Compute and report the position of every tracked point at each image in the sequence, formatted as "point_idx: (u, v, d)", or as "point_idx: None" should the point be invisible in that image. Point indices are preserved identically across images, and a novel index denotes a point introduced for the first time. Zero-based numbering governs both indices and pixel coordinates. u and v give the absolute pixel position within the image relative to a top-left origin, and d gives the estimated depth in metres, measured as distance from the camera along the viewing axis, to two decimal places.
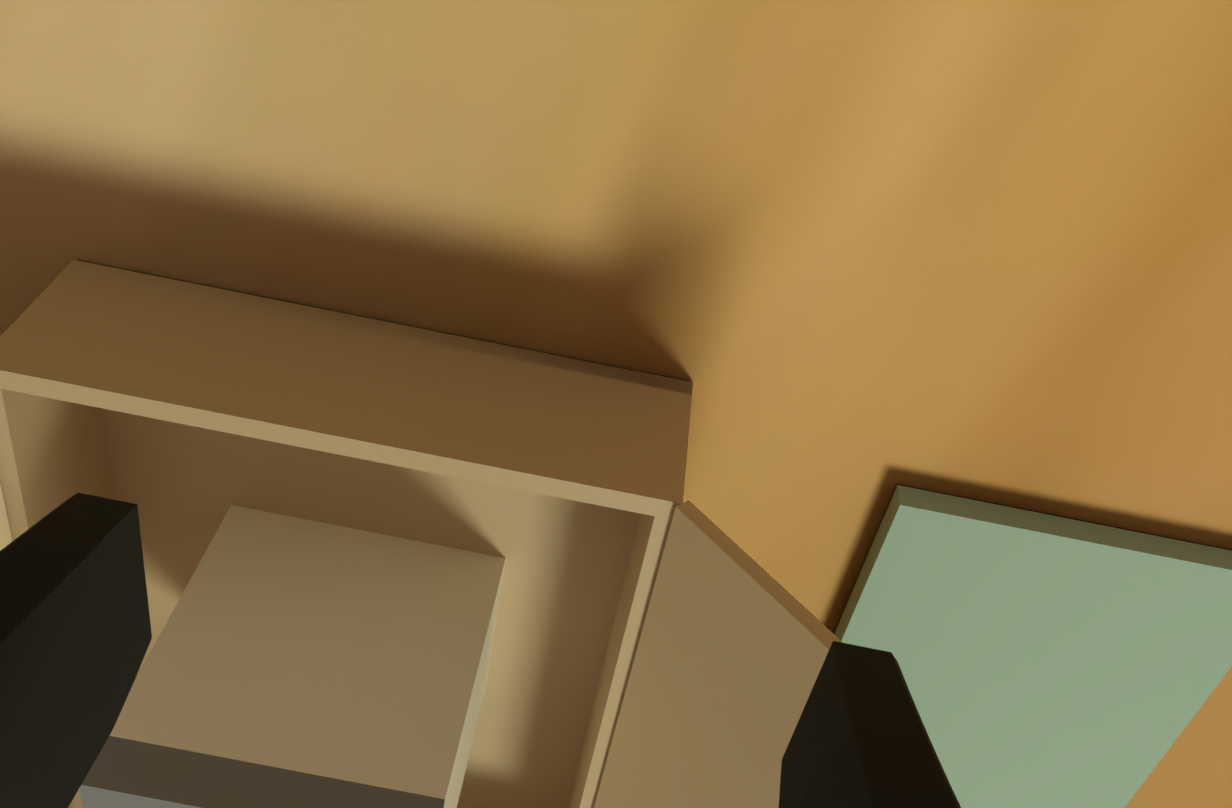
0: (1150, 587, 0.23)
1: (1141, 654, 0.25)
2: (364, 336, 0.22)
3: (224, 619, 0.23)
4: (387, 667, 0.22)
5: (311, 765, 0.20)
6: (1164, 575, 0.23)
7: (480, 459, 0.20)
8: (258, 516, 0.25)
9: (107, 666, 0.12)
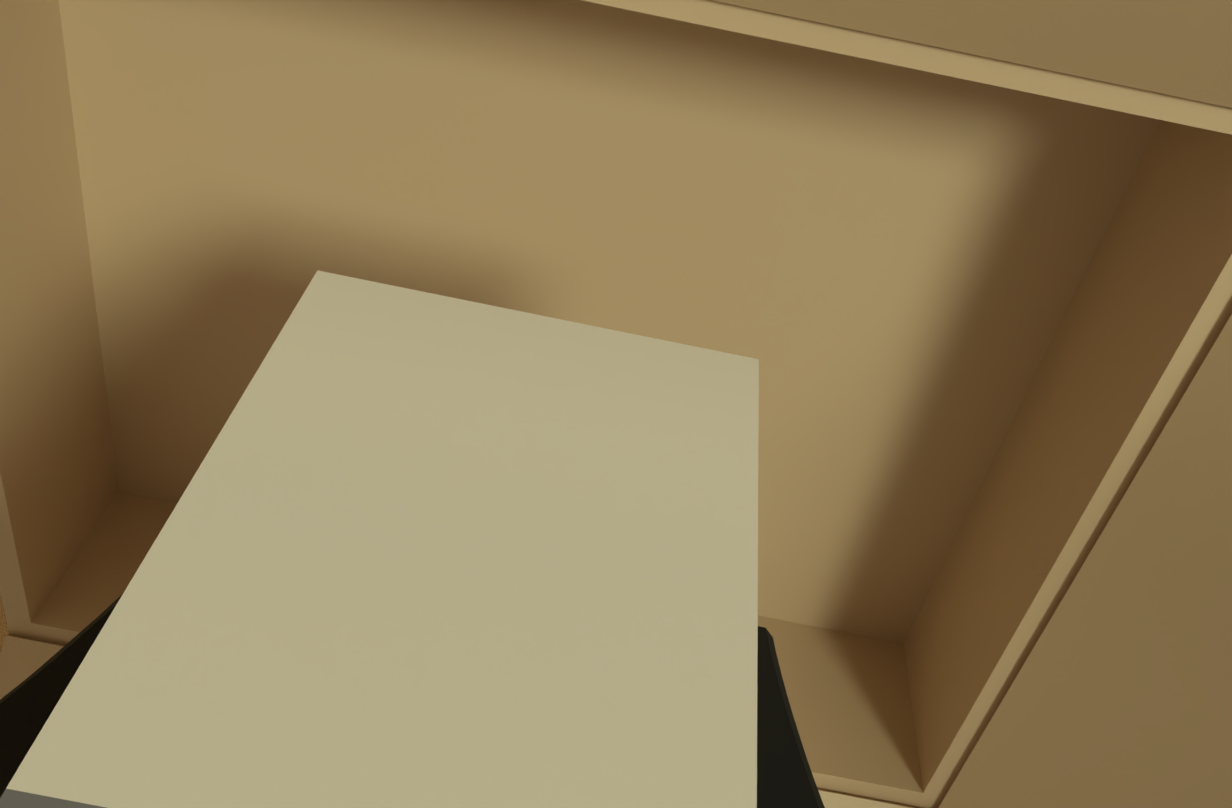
0: None
1: None
2: None
3: None
4: None
5: None
6: None
7: None
8: None
9: None
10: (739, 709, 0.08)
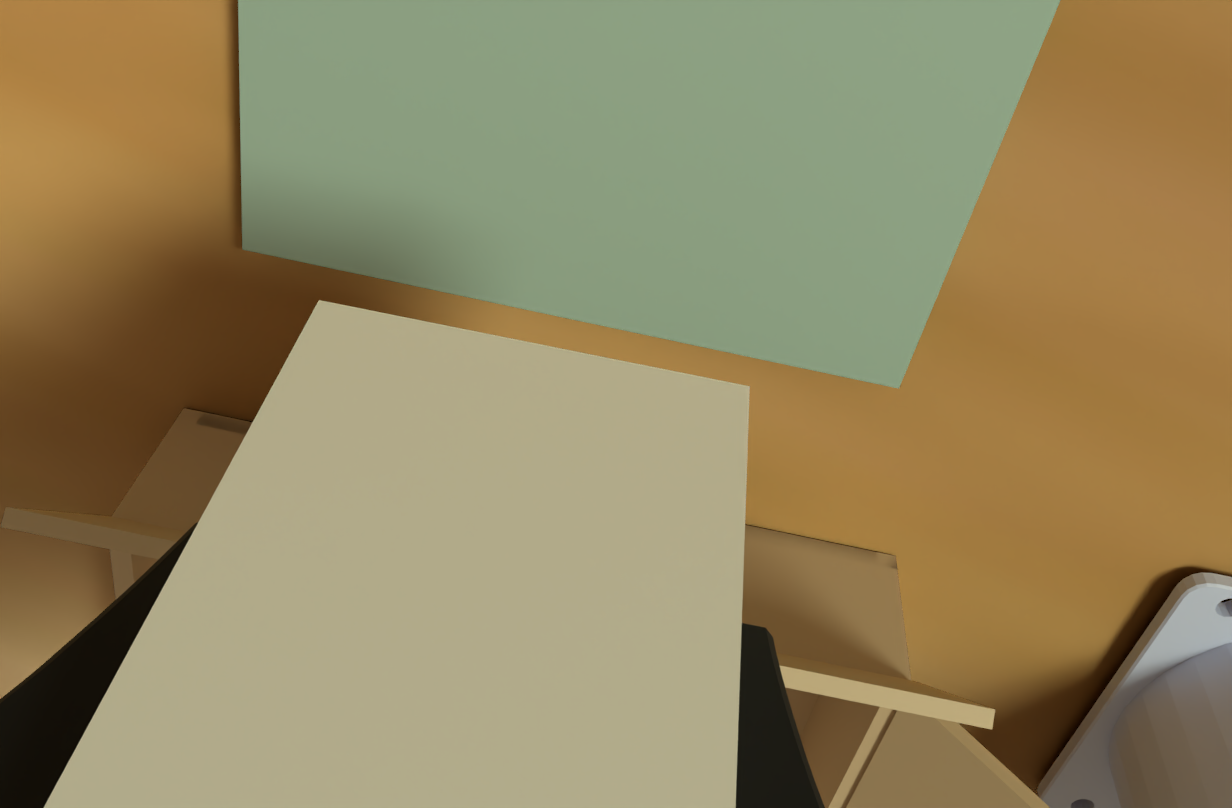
0: None
1: None
2: None
3: None
4: None
5: None
6: None
7: None
8: None
9: None
10: (719, 750, 0.09)
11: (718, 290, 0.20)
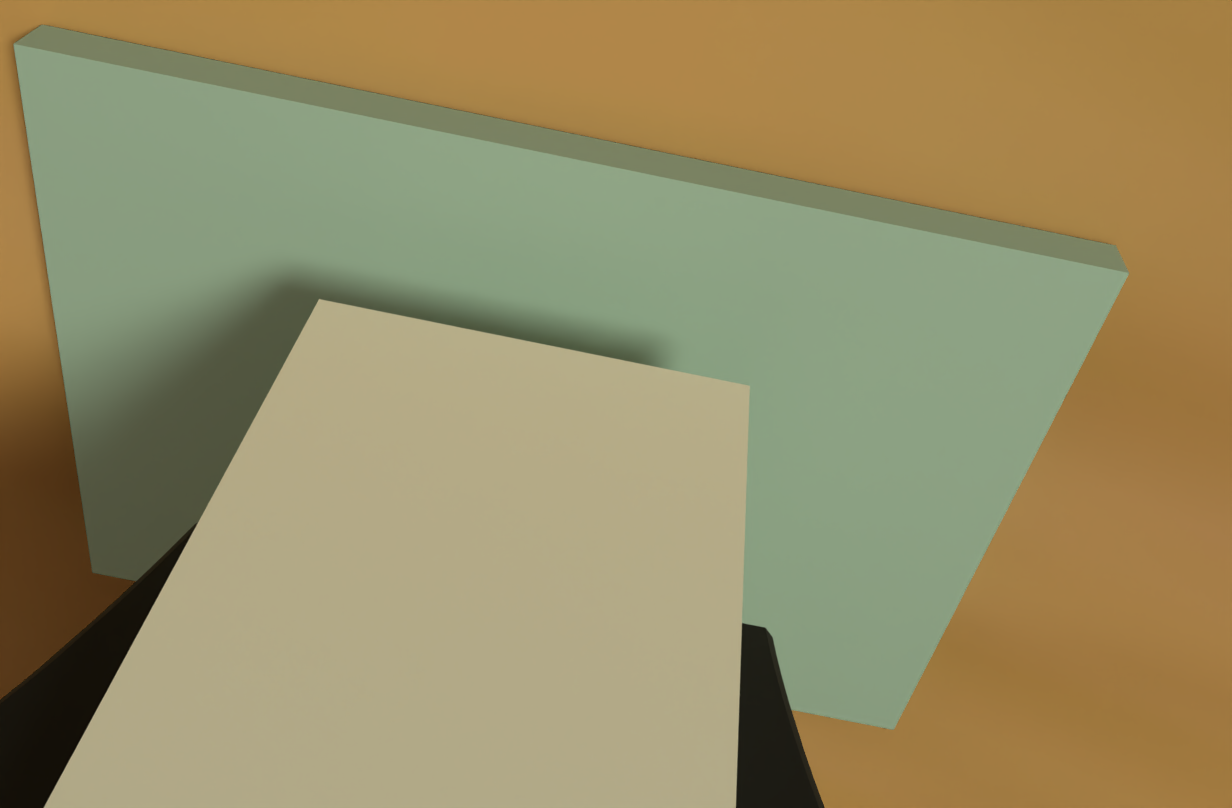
0: (116, 268, 0.14)
1: (274, 251, 0.13)
2: None
3: None
4: None
5: None
6: (83, 252, 0.14)
7: None
8: None
9: None
10: (720, 750, 0.09)
11: None
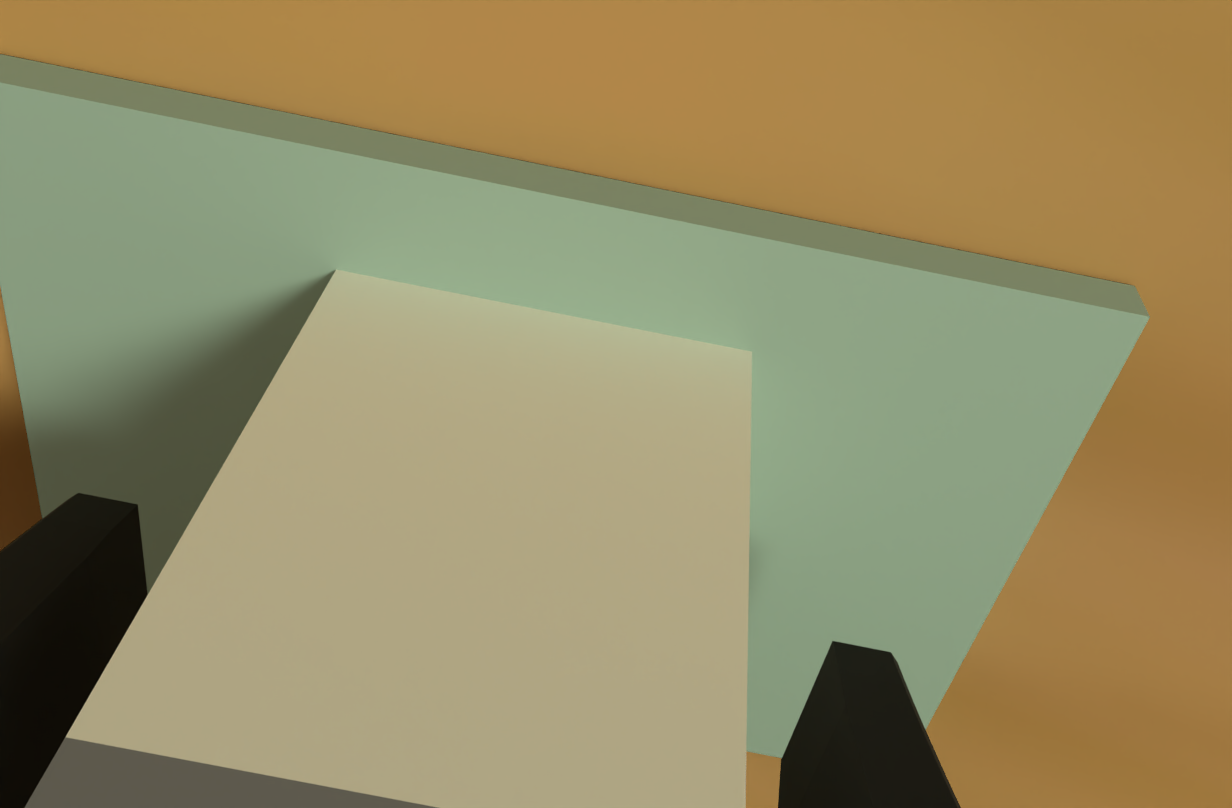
0: (78, 308, 0.13)
1: (243, 290, 0.13)
2: None
3: None
4: None
5: None
6: (42, 292, 0.13)
7: None
8: None
9: None
10: (730, 671, 0.09)
11: None
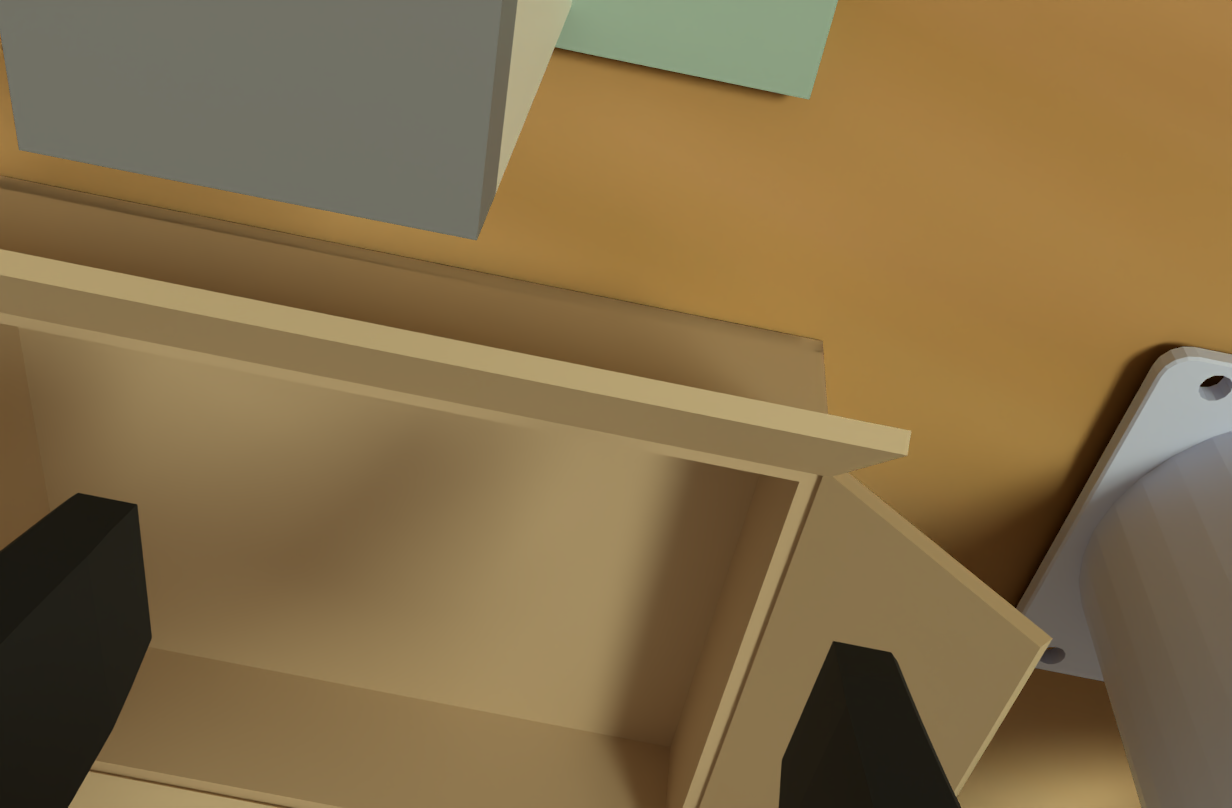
0: None
1: None
2: None
3: None
4: None
5: None
6: None
7: None
8: None
9: (107, 666, 0.12)
10: None
11: None
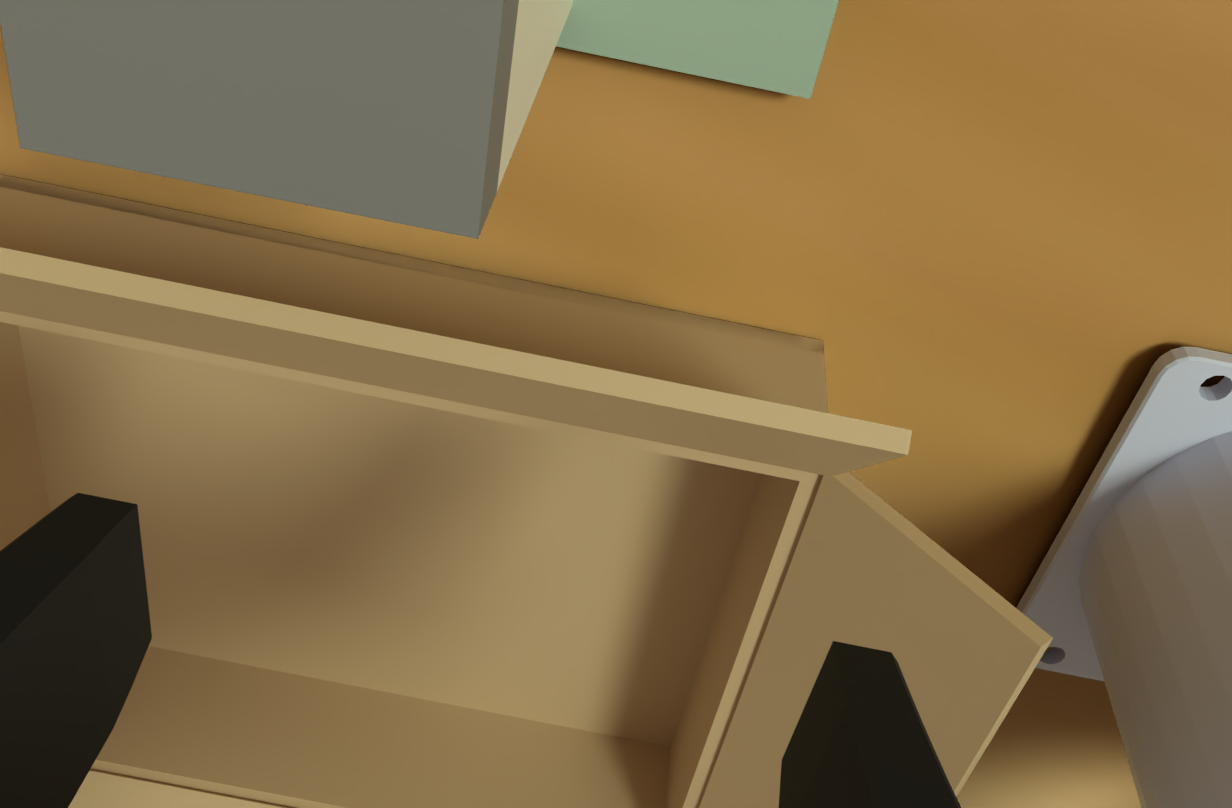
0: None
1: None
2: None
3: None
4: None
5: None
6: None
7: None
8: None
9: (107, 666, 0.12)
10: None
11: None
